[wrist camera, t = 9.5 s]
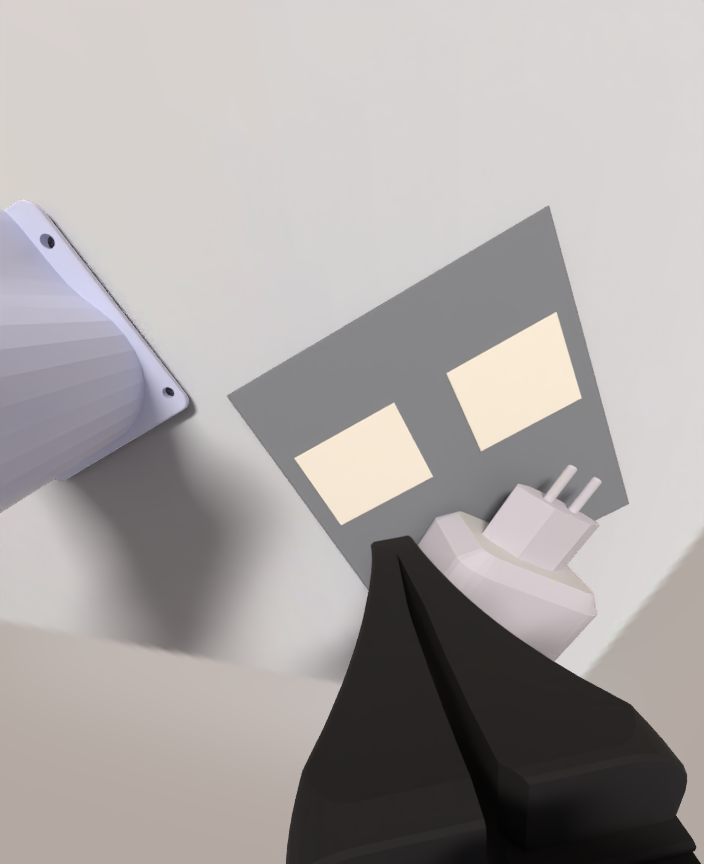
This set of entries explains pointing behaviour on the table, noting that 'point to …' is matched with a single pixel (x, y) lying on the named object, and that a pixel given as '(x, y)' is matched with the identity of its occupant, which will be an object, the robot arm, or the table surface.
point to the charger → (522, 563)
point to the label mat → (443, 401)
